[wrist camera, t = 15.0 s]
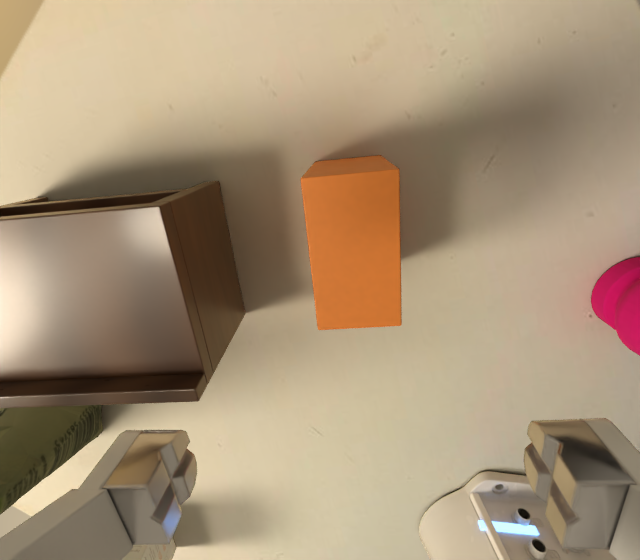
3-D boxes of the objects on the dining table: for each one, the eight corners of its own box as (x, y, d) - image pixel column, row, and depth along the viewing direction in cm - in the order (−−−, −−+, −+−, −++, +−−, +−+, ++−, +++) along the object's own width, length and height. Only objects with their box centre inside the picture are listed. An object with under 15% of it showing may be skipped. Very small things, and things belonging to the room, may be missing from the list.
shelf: (219, 180, 29) (144, 211, 18) (245, 313, 33) (199, 401, 22) (34, 198, 30) (-137, 236, 19) (84, 323, 35) (-32, 410, 24)
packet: (381, 154, 27) (400, 168, 18) (384, 266, 30) (402, 326, 21) (314, 161, 28) (299, 178, 18) (325, 270, 31) (317, 330, 22)
